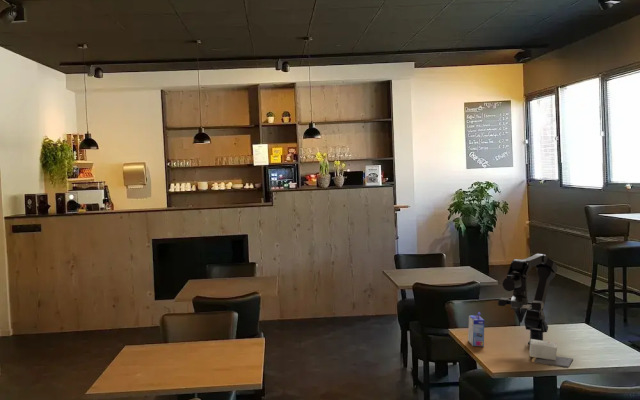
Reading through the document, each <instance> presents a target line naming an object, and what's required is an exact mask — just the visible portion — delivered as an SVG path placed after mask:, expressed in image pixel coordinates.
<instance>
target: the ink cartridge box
mask: <svg viewBox="0 0 640 400" xmlns="http://www.w3.org/2000/svg"><path fill="white" fill-rule="evenodd" d="M481 314H482V313H481V312H480V311H478V312H477V314H476V315H468V333H467V335H468V336H467V338H468V339H467V341H468V342H469V343H470V345H471V346H472V347H484V346H485V319H483V317H482V316H481Z"/></svg>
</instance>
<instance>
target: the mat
mask: <svg viewBox="0 0 640 400" xmlns="http://www.w3.org/2000/svg"><path fill="white" fill-rule="evenodd" d="M573 361H574V358H572V357H564V356H559V355H556V361H555V360H549V359H543V358H537V357H532V359H531V363H536V364H540V365H541V364H543V365H549V366H556V367H562V368H569V367H570V365H571V364H572V362H573Z"/></svg>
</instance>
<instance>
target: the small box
mask: <svg viewBox="0 0 640 400" xmlns="http://www.w3.org/2000/svg"><path fill="white" fill-rule="evenodd" d="M529 341H530V344H529V357H531V358H533V357H537V358H543V359H549V360H555V361H556V356H557V353H558V351H557V349H558V346H557V342H553V341H548V340H547V341H546V340H543V341H541V340H535V339H531V340H530V339H529Z"/></svg>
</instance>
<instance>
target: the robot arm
mask: <svg viewBox="0 0 640 400" xmlns="http://www.w3.org/2000/svg"><path fill="white" fill-rule="evenodd" d="M534 267H535V268H536V273H537V276H538V282H537V286H536V290H535V293H534V297H533V298H534V299H533V301H531V302H530V301H529V298H528V278H530V275H529V274H528V273H529V272H531V269H532V268H534ZM557 272H558V266H557V264H556V263H555V261H554V260H552V259H551V258H550V257H548V256H547V254H543V253H535V254H534V255H532V256H529V257H526V258H521V259H520V258H519V259H516V258H515V259H513V260H512V261H511V263H510V265H509V268H508V271H507V273H506V274H507V275H506V278H504V279H503V281H502V287H503V289H504V290H505V291H506V292H512V296H511V299H510V298H509V297H500V298H499V299H497V306H498V307H505V306H507V305H510V306H511V307H510V309H511V310H513V311H514V312H515V314H516V317H517V320H518V323H519V324H521V323H522V322H524V326H525V330H528V331H529V341H528V342H527V345H530V340H531V339H535V340H541V341H544V333H548V331H549V325H548V324H547V322H546V316H545V314H544V308H545V305H546V304H545V303H546V299H547V294H548V291H549V286H550V283H551V281H552V280H553V279H554V278H555V276H556V274H557ZM523 320H524V321H523Z"/></svg>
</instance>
